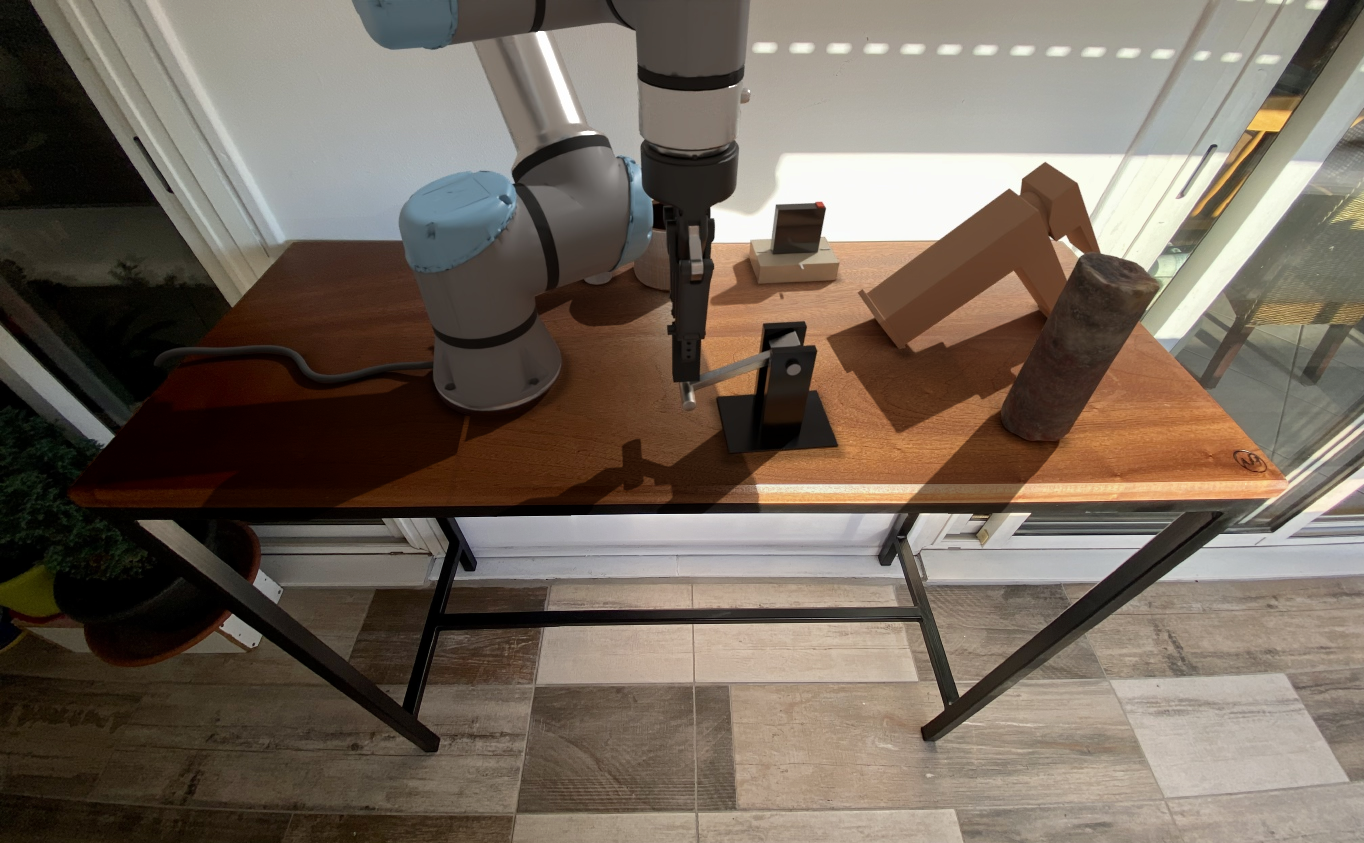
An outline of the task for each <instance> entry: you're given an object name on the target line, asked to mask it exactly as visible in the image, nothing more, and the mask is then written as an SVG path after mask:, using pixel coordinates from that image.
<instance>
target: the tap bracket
mask: <svg viewBox="0 0 1364 843" xmlns="http://www.w3.org/2000/svg"><path fill="white" fill-rule="evenodd" d="M807 330H808V325H807V322H806V320H799V321H797V320H796V321H781V322H780V321H779V322H778V321H777V322H763V323H762V327H761V335H760V343H759V351H758V354H760V353H762V352H765V351H768V350H771V351H770V358H769V365H767V366H764V367H761V368H758V369H756V374H755V382H754V390H753V393H750V394H749V393H748V394H734V395H718V396H717V397H716V400H717V404H718V407H719V411H720V412H719V413H720V417H721V422H722V427H723V430H724V431H723V432H724V437H725V441H726V445H727V450H728V454H729V455H736V454H737V455H738V454H751V453H766V452H779V451H780V452H781V451H792V450H794V451H795V450H808V449H819V448H821V449H823V448H835V447H839V443H838V440H837V438H836V435H835V432H834V430H833V428H832V425H831V423H830V420H829V417H828V415H827V413H826V410H825V408H824V405H823V402H822V399H821V397H820V395H819V392H818V390H817V389H814V390H813V389H811V390H810V388H811V383H812V379H813V374H814V368H815V364H816V359H817V355H818V349H817V347H816V345H815V344H810V345H809V344H807V345H804V344H805V339H806V334H807ZM794 331H795V332H796V335H797V337H798V340H799V342H800V345H801V346H788V347H771V346H770V343H769V341H770V340H772V339H775V338H778V337H781V336H783V335H786V334H789V333H792V332H794Z"/></svg>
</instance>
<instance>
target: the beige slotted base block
mask: <svg viewBox="0 0 1364 843" xmlns="http://www.w3.org/2000/svg"><path fill="white" fill-rule="evenodd" d="M771 239H772V238H762V239H761V238H757V239H750V240H749V250H748V258H749V261H750V265H751V267H752V270H753V273H754V276H755V278H756V281H757V283H758V284H759V285H760V284H777V283H778V284H784V283H785V284H786V283H804V282H823V281H837V277H838V272H839V267H840V261H839V258H838V257H837V255H836V253H835V251H834V250H833V249H832V246H831V244H830V243H829V241H828V239H827V237H826V236H821V238H820V244H819V249H818V252H814V253H791V254H772V251H771V249H770V247H771Z"/></svg>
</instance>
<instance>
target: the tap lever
mask: <svg viewBox="0 0 1364 843" xmlns="http://www.w3.org/2000/svg"><path fill="white" fill-rule="evenodd" d="M769 343H770V346H771V347H788V346H801V345H800V342H799V340H798V337H797V335H796V332H795V331H794V332H792V333H789V334H786V335H783V336H781V337H778V338H775V339H772V340H770V341H769ZM770 351H771V350H768V351H765V352H762V353H760V354H759V353H757V354H754V355H752V356H748V357H745V358H744V359H739V360H738V361H734V362H732V363H729V364H727V365H724V366H721V367H718V368H715V369H712V370H710V371H707V372H704V373H700V381H693V382H678V387H679V388H678V389H679V394H680V400H681V408H682V409H683V410H684V411H685V412H692V411H694V410H695V409H696V408H697V400H696V395H695V392H696V391H698V390H699V391H700V390H702V389H705V388H707V387H710V386H713V385H717V384H718V383H722V382H724V381H726V380H730V379H733V378H736V377H739V376H741V375H745V374H747V373H750V372H752V371H755V370H756V371H757V369H758V368H761V367H764V366H767V365H769V358H770Z"/></svg>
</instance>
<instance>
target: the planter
mask: <svg viewBox="0 0 1364 843" xmlns="http://www.w3.org/2000/svg"><path fill="white" fill-rule="evenodd" d="M663 206H667V205H664V204H661V203H659V202H657V201H655V200H653V199H652V207H653V226H652V235H651V239H650V243H649V245H648V247H647V249H646V251H645V253H644V254H643V255H642V256H641V257H640V258H639V259H637V260H636V261H633V270H634V274H635V277H636V278H637V280H638V281H639V282H640V283H642V284H643V285H645V286H647V287H650V288H652V289H655V290H659V291H664V292H665V291H666V292H667V291H668V292H669V291H670V263H669V255H668V251H667V245H666V228H665V225H664V219H663Z"/></svg>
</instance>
